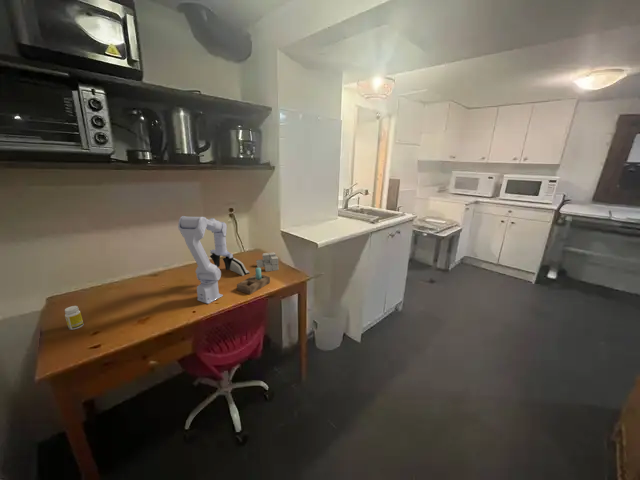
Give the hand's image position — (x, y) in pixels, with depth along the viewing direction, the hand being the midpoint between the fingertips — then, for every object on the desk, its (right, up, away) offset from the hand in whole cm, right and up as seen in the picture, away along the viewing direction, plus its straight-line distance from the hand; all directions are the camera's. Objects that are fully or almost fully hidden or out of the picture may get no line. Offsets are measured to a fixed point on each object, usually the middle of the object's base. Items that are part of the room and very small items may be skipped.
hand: (222, 268), depth 149 cm
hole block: (+17, -10, +1) cm, 20 cm away
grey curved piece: (+2, -4, +20) cm, 20 cm away
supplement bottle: (-47, -20, -37) cm, 63 cm away
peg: (+19, -9, +4) cm, 21 cm away
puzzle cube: (+19, -3, +27) cm, 33 cm away
